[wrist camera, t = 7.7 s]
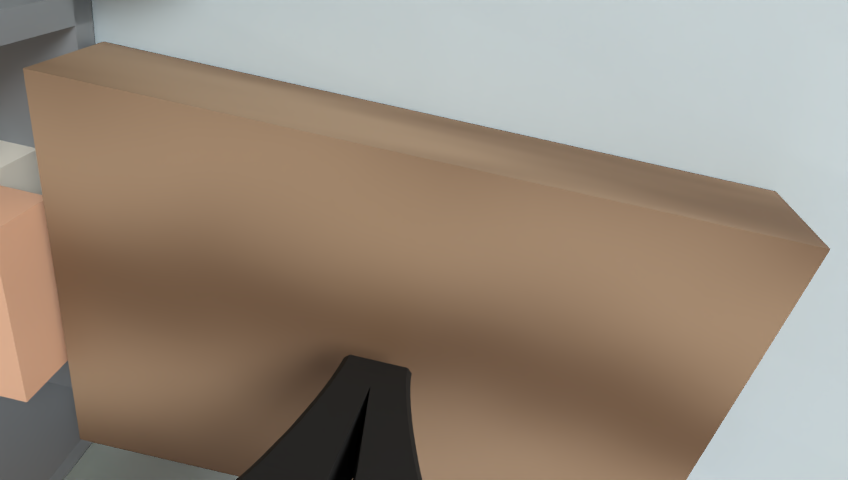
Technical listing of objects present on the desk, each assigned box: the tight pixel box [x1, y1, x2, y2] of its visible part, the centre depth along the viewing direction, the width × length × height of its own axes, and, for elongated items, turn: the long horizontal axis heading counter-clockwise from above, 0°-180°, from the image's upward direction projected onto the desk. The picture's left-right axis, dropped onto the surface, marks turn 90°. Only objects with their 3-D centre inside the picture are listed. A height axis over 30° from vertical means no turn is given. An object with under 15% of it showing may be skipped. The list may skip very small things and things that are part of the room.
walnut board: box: [23, 42, 830, 480], centre depth 14 cm, size 10×15×2 cm, turn 79°
